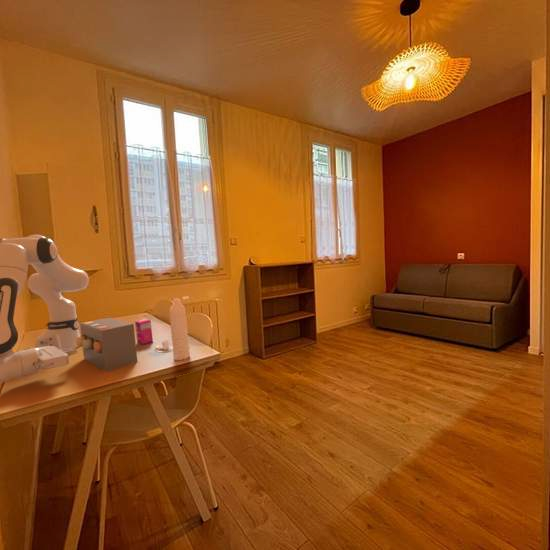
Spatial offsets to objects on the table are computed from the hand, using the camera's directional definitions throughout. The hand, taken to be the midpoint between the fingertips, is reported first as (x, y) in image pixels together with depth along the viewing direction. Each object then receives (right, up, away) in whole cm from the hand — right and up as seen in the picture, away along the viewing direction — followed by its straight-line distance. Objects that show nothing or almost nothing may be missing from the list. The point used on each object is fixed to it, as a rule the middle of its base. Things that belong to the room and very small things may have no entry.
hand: (75, 350), depth 118 cm
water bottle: (+38, -6, +11) cm, 40 cm away
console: (+6, -7, +13) cm, 16 cm away
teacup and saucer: (+26, -6, +27) cm, 38 cm away
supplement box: (+11, -5, +37) cm, 39 cm away
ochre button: (-5, -1, +12) cm, 13 cm away
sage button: (+1, -1, +7) cm, 7 cm away
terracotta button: (+8, -1, +2) cm, 8 cm away
